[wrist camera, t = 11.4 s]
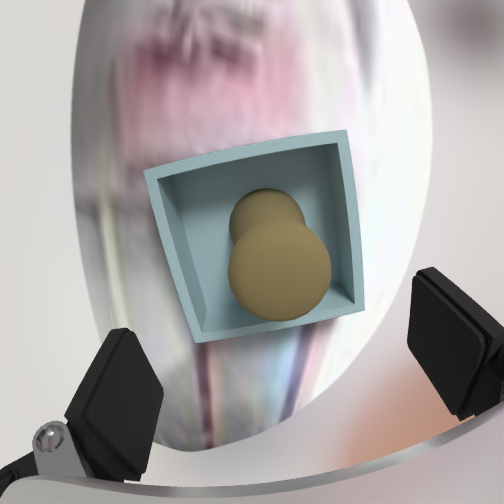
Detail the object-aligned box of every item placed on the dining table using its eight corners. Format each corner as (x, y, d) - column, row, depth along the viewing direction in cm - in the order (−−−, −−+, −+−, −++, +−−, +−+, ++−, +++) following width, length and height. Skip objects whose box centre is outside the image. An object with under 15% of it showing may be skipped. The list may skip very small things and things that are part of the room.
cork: (274, 274, 25) (292, 358, 15) (214, 234, 24) (191, 300, 14) (319, 217, 24) (372, 270, 13) (258, 172, 22) (270, 191, 12)
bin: (161, 166, 23) (143, 170, 18) (328, 132, 22) (346, 129, 18) (202, 314, 27) (195, 343, 23) (347, 285, 26) (364, 310, 22)
